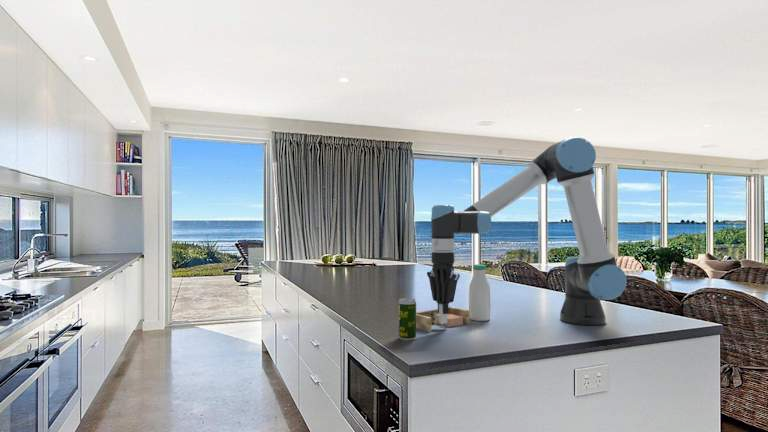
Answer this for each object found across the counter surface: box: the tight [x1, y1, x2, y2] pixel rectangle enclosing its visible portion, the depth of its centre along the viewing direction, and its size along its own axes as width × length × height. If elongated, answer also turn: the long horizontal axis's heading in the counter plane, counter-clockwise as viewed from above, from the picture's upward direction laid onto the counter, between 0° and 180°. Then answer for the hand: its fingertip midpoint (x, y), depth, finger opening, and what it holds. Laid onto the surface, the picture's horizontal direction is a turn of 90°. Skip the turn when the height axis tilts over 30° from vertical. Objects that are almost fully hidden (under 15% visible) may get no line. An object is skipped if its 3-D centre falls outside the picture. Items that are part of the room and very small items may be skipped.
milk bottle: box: [468, 263, 491, 322], centre depth 170 cm, size 8×8×20 cm
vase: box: [428, 309, 448, 329], centre depth 155 cm, size 5×5×6 cm
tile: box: [446, 314, 464, 328], centre depth 162 cm, size 6×6×3 cm
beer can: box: [398, 297, 417, 342], centre depth 142 cm, size 5×5×12 cm
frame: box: [416, 306, 471, 333], centre depth 161 cm, size 9×20×4 cm, turn 129°
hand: (443, 323), depth 152 cm, fingers closed
